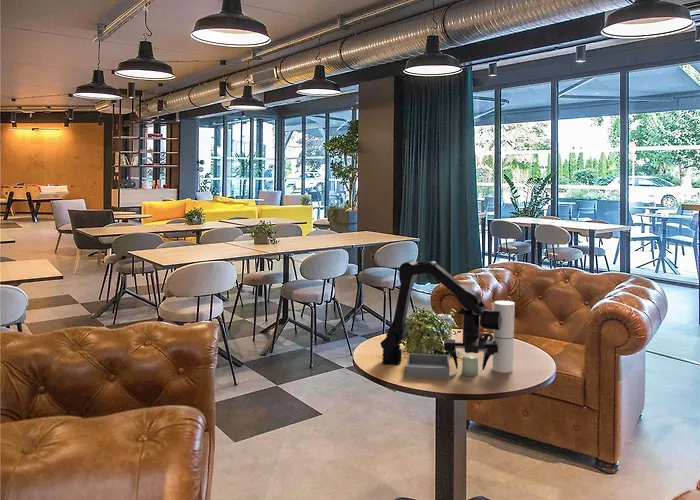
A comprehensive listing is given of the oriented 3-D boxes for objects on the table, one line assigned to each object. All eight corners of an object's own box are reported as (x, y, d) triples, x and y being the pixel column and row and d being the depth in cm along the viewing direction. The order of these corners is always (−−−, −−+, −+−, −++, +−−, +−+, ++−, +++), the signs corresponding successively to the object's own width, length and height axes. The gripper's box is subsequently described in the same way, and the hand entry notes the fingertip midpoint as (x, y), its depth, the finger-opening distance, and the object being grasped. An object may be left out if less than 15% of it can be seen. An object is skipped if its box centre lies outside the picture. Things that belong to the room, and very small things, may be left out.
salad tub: (462, 375, 201) (462, 359, 200) (461, 370, 207) (462, 354, 206) (478, 376, 200) (478, 360, 200) (477, 371, 206) (477, 355, 205)
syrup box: (451, 353, 227) (451, 317, 225) (436, 352, 228) (436, 317, 226) (451, 348, 232) (452, 314, 231) (436, 347, 234) (437, 313, 232)
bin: (406, 377, 200) (406, 366, 199) (408, 363, 214) (408, 353, 214) (449, 379, 197) (449, 368, 197) (448, 365, 212) (448, 355, 211)
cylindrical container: (501, 373, 203) (503, 305, 199) (488, 368, 209) (490, 301, 206) (516, 370, 206) (519, 303, 203) (502, 365, 212) (505, 299, 209)
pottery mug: (463, 349, 234) (461, 329, 237) (470, 353, 241) (469, 334, 245) (491, 345, 228) (489, 325, 231) (498, 350, 236) (496, 330, 239)
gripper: (444, 332, 195) (443, 375, 197) (500, 334, 192) (499, 378, 194) (444, 323, 206) (443, 365, 208) (497, 325, 203) (495, 367, 205)
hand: (470, 369), depth 203 cm, fingers open, 9 cm apart
